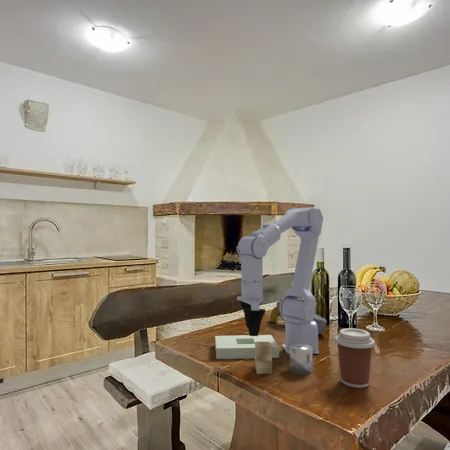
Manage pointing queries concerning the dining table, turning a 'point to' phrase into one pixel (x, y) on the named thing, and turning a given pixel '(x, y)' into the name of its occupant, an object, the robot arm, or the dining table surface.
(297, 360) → the round peg
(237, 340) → the socket plate
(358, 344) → the coffee cup
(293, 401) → the dining table surface
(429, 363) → the dining table surface
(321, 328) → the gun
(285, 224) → the robot arm
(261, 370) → the square peg
